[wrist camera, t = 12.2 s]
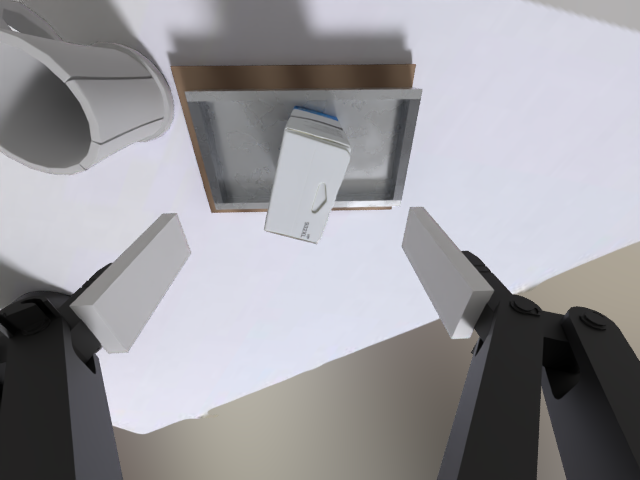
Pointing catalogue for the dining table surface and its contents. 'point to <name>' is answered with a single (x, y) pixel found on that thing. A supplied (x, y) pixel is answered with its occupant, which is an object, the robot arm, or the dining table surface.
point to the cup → (73, 96)
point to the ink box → (307, 175)
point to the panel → (282, 79)
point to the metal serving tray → (267, 133)
